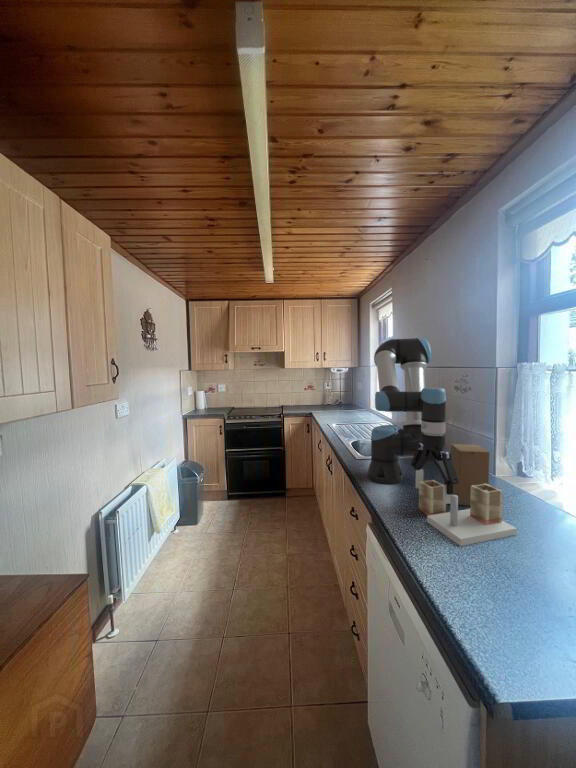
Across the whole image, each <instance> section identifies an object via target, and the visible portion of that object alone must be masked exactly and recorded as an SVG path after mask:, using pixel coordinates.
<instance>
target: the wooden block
mask: <svg viewBox="0 0 576 768" xmlns="http://www.w3.org/2000/svg"><path fill="white" fill-rule="evenodd" d="M450 453H451V459H452V463H453V466H454V469H455V472H456V475H457V478H458V481H459V483H458V484H453V494H452V495H457V496H458V506H467V507H468V506H470V496H471V486H472V485H479V484H488V485H490V484H489V483H490V481H489V480H490V451H488V450H487V449H485V448H484V447H482V445H479V444H469V443H468V444H467V443H463V444H462V443H451V444H450Z"/></svg>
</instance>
